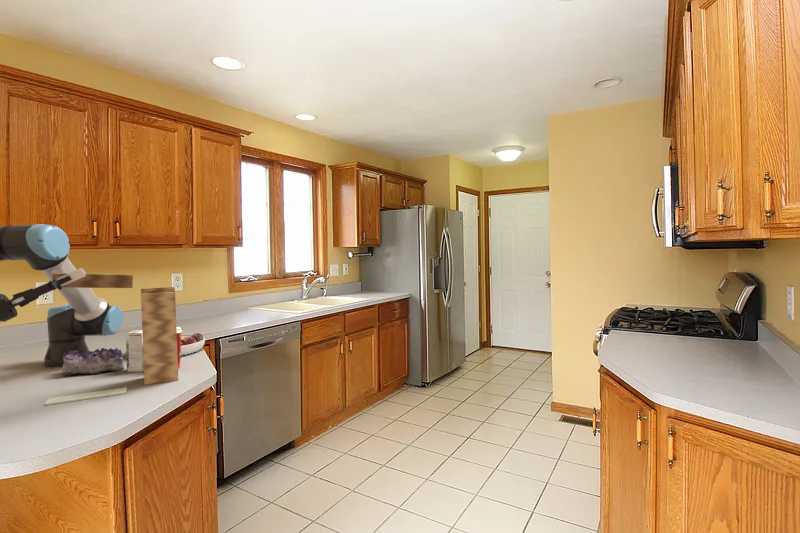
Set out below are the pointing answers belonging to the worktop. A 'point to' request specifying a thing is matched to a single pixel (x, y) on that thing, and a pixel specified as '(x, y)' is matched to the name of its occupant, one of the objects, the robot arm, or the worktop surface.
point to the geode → (92, 361)
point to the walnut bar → (99, 281)
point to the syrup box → (134, 351)
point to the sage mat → (85, 396)
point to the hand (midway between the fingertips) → (83, 271)
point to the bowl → (191, 343)
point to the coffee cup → (178, 344)
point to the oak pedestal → (159, 335)
